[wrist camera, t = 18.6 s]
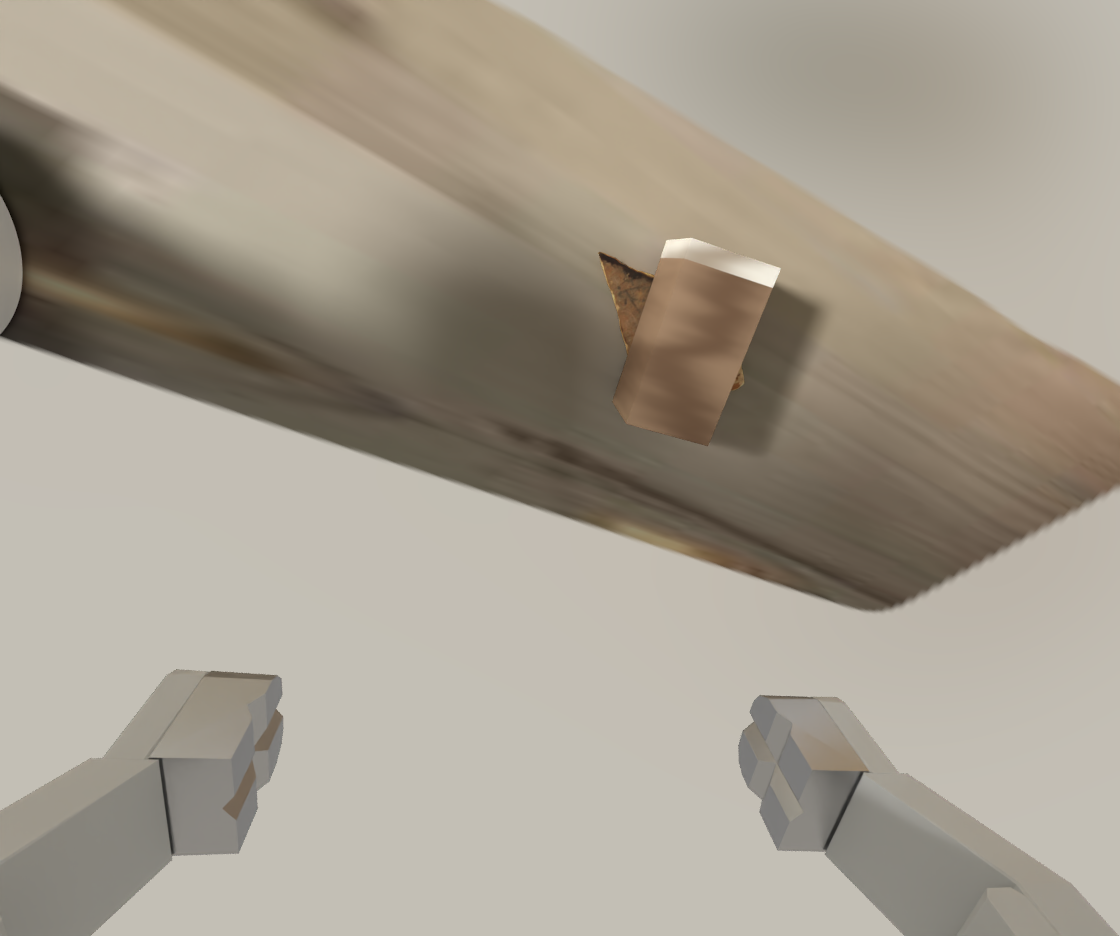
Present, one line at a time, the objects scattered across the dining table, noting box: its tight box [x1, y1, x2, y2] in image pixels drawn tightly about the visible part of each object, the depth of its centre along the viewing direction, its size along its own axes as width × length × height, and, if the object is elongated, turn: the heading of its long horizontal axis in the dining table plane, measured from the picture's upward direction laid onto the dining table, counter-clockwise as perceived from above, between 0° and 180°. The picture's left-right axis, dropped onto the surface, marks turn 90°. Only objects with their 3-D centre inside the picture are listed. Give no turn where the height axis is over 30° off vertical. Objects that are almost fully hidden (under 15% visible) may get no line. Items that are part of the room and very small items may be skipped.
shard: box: [598, 252, 744, 391], centre depth 35 cm, size 11×8×2 cm
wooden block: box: [612, 238, 781, 446], centre depth 32 cm, size 5×5×10 cm
